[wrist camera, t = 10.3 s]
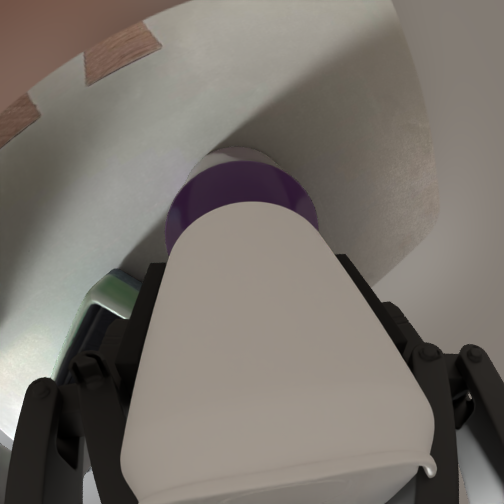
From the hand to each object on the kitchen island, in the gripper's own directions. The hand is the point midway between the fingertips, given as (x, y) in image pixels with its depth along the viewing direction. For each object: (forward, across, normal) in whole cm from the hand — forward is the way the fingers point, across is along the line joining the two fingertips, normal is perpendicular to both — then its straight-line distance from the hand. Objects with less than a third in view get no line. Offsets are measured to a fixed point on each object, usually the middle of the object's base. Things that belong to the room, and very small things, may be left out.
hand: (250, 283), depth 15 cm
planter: (+15, +18, +18) cm, 29 cm away
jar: (+15, 0, 0) cm, 15 cm away
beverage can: (+1, 0, 0) cm, 1 cm away
